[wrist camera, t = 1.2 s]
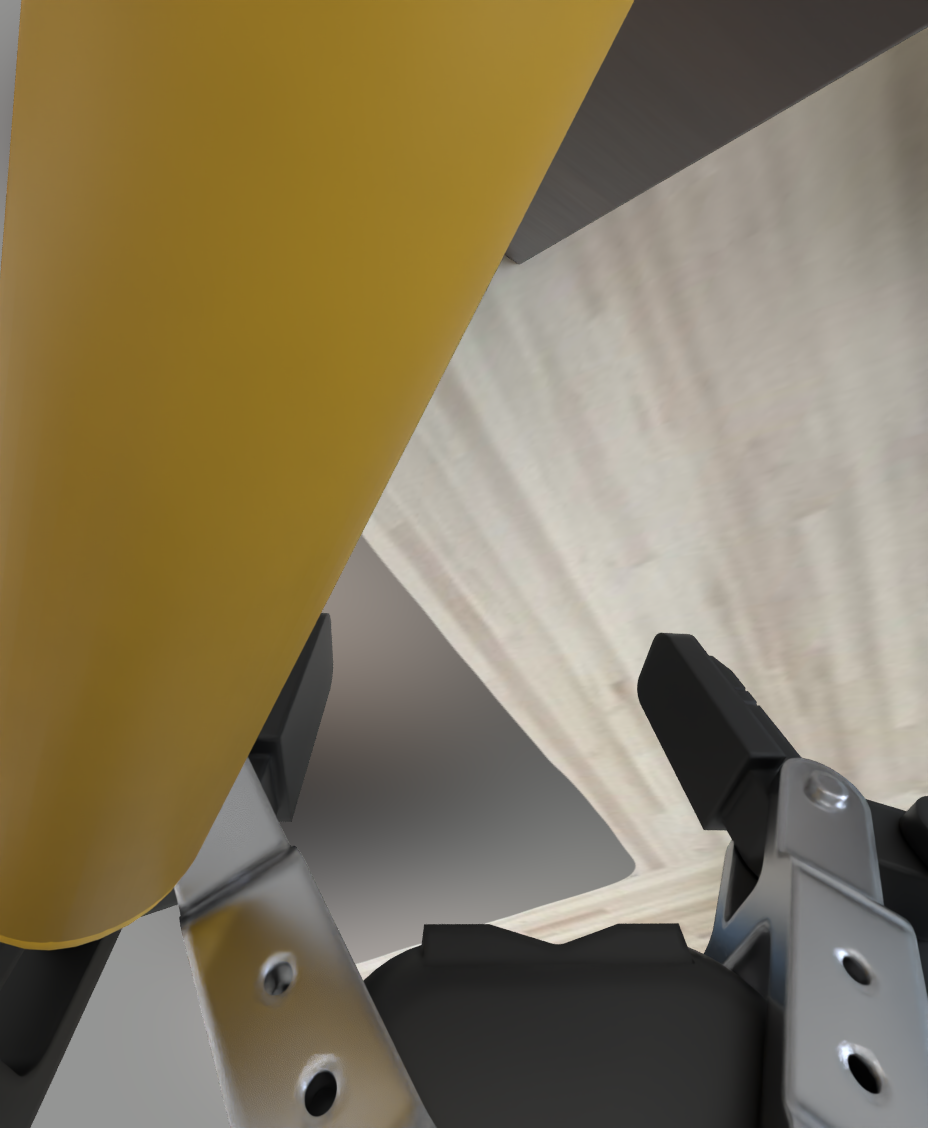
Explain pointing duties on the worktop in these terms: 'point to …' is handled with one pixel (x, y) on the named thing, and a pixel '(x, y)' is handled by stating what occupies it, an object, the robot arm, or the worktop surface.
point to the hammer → (223, 375)
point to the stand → (697, 93)
